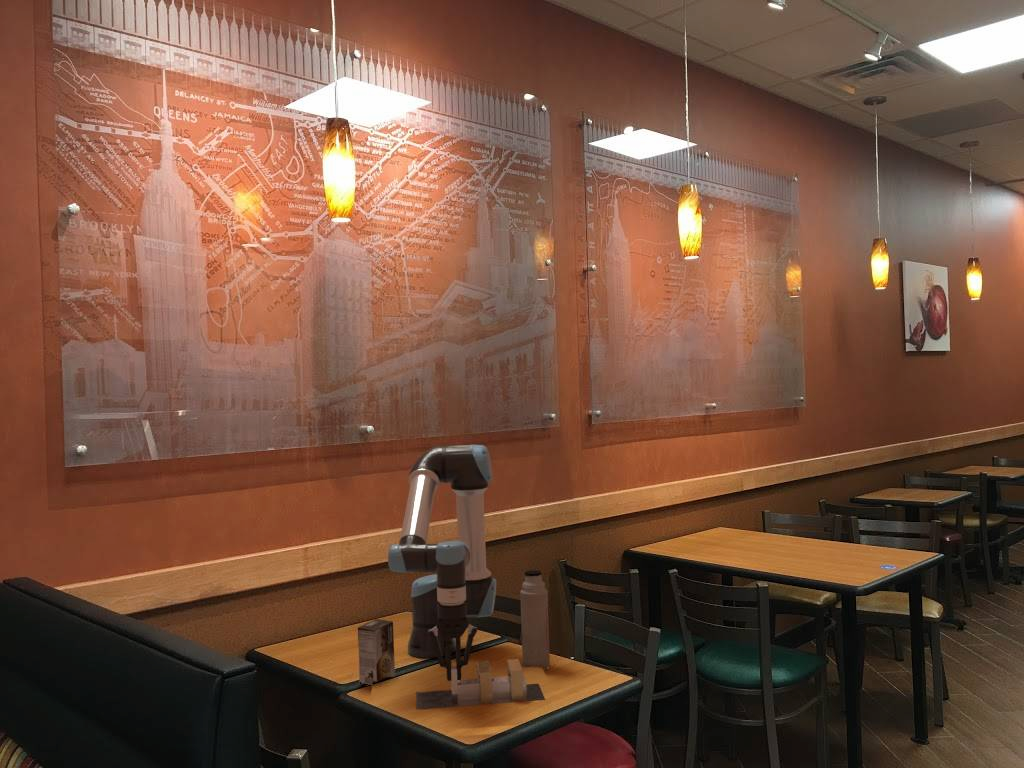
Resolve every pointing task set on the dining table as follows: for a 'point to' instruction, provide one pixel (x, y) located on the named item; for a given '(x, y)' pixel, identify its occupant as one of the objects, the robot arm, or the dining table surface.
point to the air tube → (500, 688)
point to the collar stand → (483, 690)
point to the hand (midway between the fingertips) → (454, 692)
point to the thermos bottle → (534, 621)
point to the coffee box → (376, 651)
